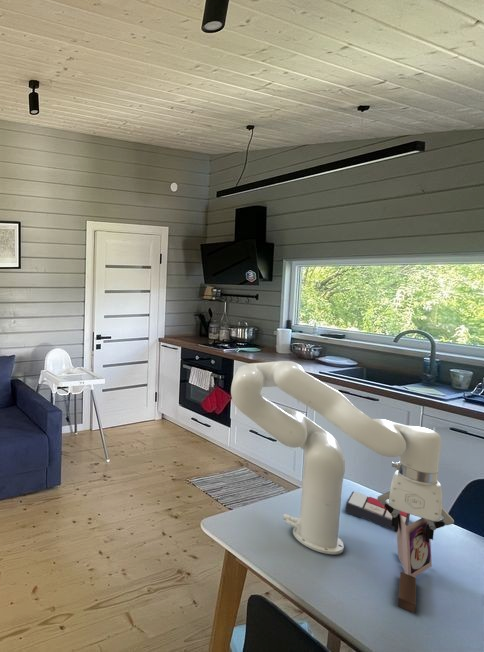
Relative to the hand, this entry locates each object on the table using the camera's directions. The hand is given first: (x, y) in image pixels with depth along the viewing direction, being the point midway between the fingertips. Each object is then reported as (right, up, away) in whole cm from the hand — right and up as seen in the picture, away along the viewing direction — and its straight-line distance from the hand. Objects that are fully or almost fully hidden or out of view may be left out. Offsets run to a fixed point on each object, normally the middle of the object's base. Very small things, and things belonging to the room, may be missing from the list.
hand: (411, 534), depth 111 cm
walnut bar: (-9, -11, -8) cm, 17 cm away
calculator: (+12, -8, +24) cm, 28 cm away
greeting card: (0, -10, +1) cm, 10 cm away
